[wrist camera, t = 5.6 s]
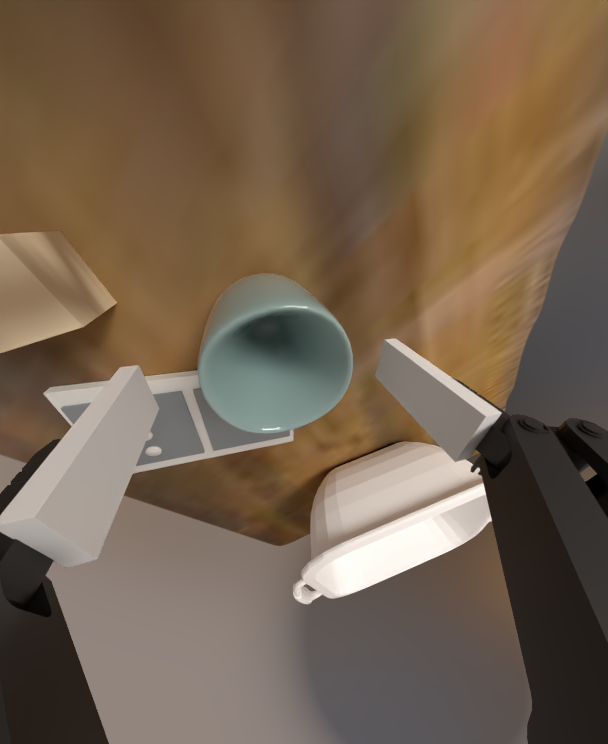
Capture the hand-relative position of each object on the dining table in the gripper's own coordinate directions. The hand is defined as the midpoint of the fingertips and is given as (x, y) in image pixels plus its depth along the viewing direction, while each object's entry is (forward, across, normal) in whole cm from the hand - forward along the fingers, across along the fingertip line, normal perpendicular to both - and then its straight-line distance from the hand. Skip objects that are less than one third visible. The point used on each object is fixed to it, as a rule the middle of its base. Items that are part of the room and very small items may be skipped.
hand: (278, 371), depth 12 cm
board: (+9, -8, -10) cm, 15 cm away
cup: (+9, 0, +1) cm, 9 cm away
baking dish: (+9, +17, -31) cm, 37 cm away
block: (+8, -13, +4) cm, 16 cm away
